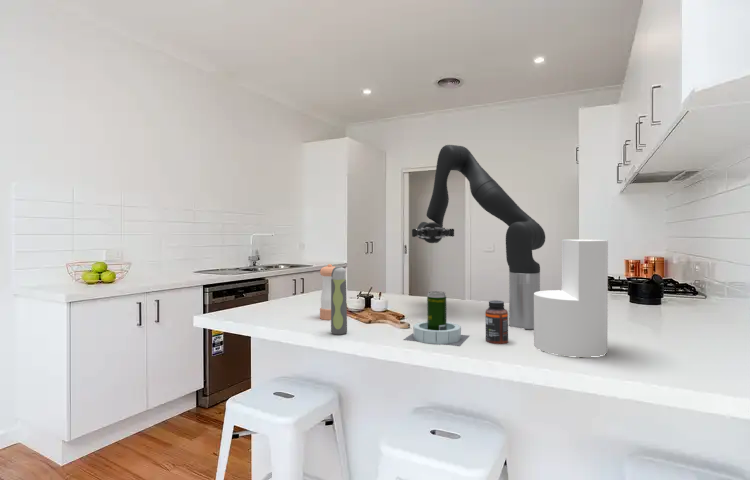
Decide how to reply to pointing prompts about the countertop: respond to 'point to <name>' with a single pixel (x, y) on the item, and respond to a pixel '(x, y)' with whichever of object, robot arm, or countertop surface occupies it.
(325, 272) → the salt shaker
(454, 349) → the countertop surface
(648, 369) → the countertop surface
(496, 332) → the supplement bottle
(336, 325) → the patterned grey bottle
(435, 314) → the beer can
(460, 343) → the mat
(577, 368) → the countertop surface
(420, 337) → the bowl
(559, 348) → the white stepped cylinder
